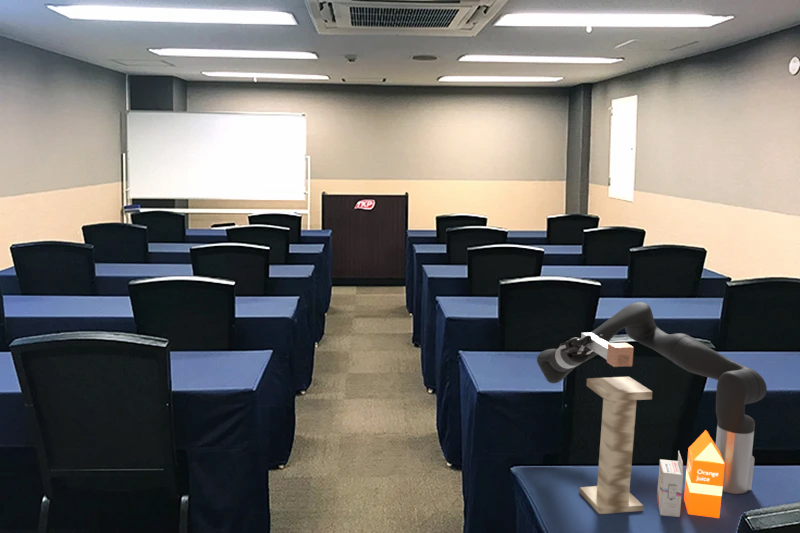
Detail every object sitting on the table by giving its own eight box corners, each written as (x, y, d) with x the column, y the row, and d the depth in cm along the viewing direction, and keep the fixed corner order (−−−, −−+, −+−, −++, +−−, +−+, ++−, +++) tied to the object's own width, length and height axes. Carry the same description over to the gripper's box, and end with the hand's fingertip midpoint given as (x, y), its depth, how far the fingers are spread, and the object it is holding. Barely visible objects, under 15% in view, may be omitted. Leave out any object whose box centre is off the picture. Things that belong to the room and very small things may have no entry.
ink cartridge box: (655, 500, 201) (659, 447, 199) (675, 502, 200) (679, 449, 198) (659, 515, 193) (664, 461, 190) (680, 518, 192) (685, 463, 189)
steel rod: (594, 342, 214) (595, 325, 213) (632, 366, 192) (633, 347, 192) (577, 343, 213) (578, 325, 212) (613, 366, 191) (615, 347, 191)
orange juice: (687, 514, 194) (694, 440, 190) (683, 498, 202) (689, 427, 199) (720, 518, 192) (727, 443, 189) (714, 502, 200) (721, 430, 197)
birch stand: (620, 489, 207) (629, 376, 201) (642, 510, 195) (652, 391, 190) (579, 492, 204) (586, 378, 199) (599, 514, 193) (607, 393, 187)
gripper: (547, 341, 223) (570, 325, 207) (592, 340, 225) (617, 324, 209) (551, 367, 220) (574, 352, 204) (596, 365, 223) (622, 351, 207)
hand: (596, 338), depth 207 cm, fingers closed on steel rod, 3 cm apart
